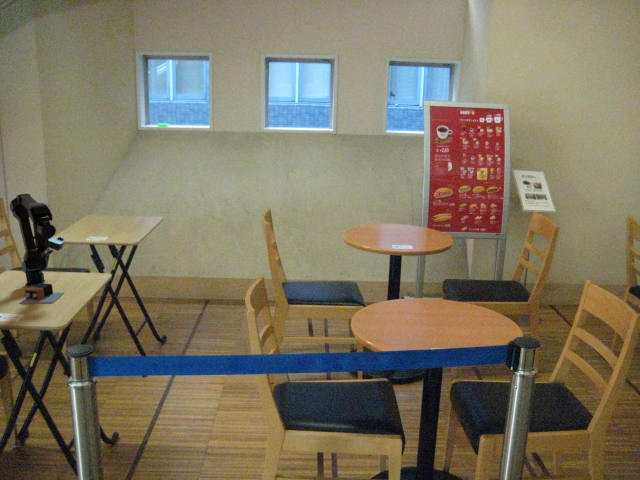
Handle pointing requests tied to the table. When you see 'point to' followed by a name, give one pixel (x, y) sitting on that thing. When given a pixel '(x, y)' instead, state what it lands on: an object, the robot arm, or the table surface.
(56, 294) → the mat
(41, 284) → the battery
